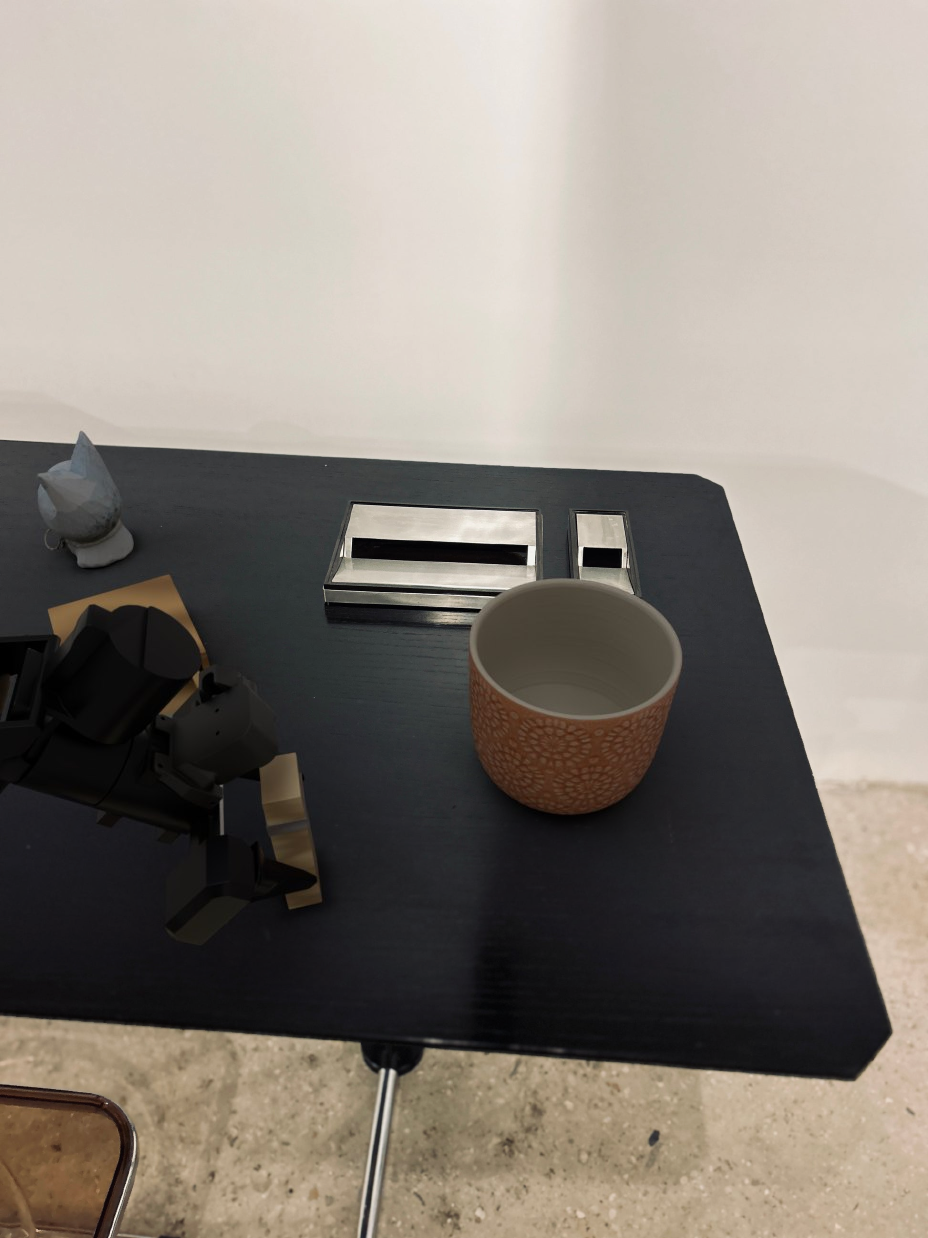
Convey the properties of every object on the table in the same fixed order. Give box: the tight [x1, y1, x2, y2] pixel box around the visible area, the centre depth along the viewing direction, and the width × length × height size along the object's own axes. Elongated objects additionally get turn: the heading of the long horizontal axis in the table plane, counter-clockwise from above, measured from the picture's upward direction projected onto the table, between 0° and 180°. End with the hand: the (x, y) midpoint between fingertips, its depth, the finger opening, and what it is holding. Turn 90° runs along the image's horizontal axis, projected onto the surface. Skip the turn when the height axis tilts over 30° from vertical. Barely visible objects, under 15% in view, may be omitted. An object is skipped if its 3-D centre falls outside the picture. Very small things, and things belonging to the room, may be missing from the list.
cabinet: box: [47, 574, 211, 672], centre depth 80 cm, size 14×12×5 cm
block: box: [259, 752, 323, 910], centre depth 58 cm, size 3×4×14 cm, turn 14°
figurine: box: [36, 430, 135, 569], centre depth 92 cm, size 10×9×15 cm
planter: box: [468, 577, 683, 816], centre depth 67 cm, size 17×17×15 cm
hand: (307, 829), depth 58 cm, fingers open, 9 cm apart
